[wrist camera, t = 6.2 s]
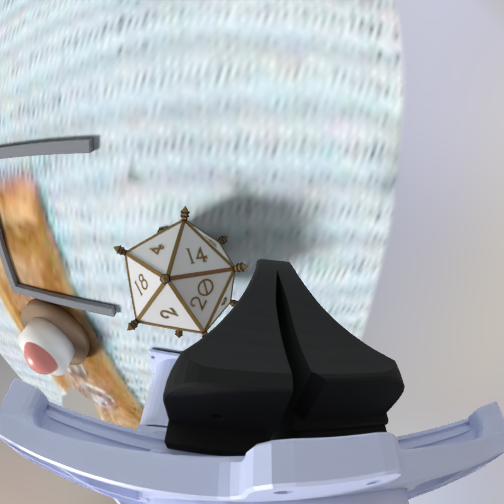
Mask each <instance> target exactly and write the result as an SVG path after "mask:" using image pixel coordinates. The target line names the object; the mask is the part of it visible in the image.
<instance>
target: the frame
mask: <svg viewBox="0 0 504 504" xmlns="http://www.w3.org/2000/svg"><path fill="white" fill-rule="evenodd" d="M92 151H93V138H86V139H69V140H56V141H44V142H35V143H26V144H18V145H11V146H4V147H0V159H3V158H12V157H23V156H35V155H50V154H71V153H90V152H92ZM0 257H1V260H2V263H3V266H4V269H5V272H6V274H7V277H8V280H9V282H10V285H11V288H12V290H13V292H16V293H19V294H23V295H26V296H30V297H33V298H37V299H40V300H44V301H48V302H52V303H56V304H59V305H63V306H68V307H72V308H76V309H80V310H84V311H89V312H93V313H98V314H103V315H107V316H112V317H114V316H115V314H116V310H115V306H114V305H109V304H104V303H99V302H94V301H89V300H84V299H80V298H75V297H71V296H66V295H62V294H58V293H53V292H49V291H45V290H41V289H37V288H33V287H29V286H26V285H22V284H18V282H17V279H16V276H15V274H14V271H13V268H12V265H11V262H10V259H9V256H8V252H7V249H6V246H5V242H4V239H3V235H2V232H1V228H0Z"/></svg>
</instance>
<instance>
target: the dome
mask: <svg viewBox="0 0 504 504" xmlns="http://www.w3.org/2000/svg"><path fill="white" fill-rule="evenodd" d="M18 342H19V345H20V347H21V349H22V351H23V352H24V356H25V359H26V362H27V363H28V365H29V366H30V368H31V369H33V370H34V371H35V372H37V373H40V374H53V375H57V376H61V375H64V374H65V372H66V370H67V368H68V366H69V364H70V362H71V360H72V358H73V356H74V354H75V350H74V346H73V344H72V342H71V341H70V339H69V338H68V337H67V336H66V335H65V334H64V333H63V332H62V331H61V330H60V329H59V328H58V327H57V326H55V325H54V324H52V323H51V322H49V321H47V320H45V319H42V318H37V317H35V318H32V319H31V320H30V321H29V323H28V324H27V326H26V327H25V329H24V330H23V332H22V333H21V335H20V336H19V338H18Z"/></svg>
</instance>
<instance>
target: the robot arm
mask: <svg viewBox="0 0 504 504" xmlns="http://www.w3.org/2000/svg"><path fill="white" fill-rule="evenodd" d="M148 355H149V360H150V364H151V368H152V372H153V378H152V381H151V385H150V388H149V392H148V396H147V399H146V403H145V406H144V410H143V414H142V418H141V421H140V424H139V425H138V428H137V430H136V429H132V428H128V427H124V426H120V425H116V424H113V423H109V422H106V421H103V420H99V419H96V418H93V417H90V416H87V415H84V414H81V413H78V412H75V411H72V410H70V409H67V408H64V407H62V406H59V405H57V404H54V403H52V402H49V401H48V399H47V397H46V396H45V394H44V393H43V392H42V391H41V390H39V389H38V388H36V387H34V386H32V385H30V384H28V383H26V382H24V381H21V380H19V379H17V378H14V380H13V381H12V383H11V385H10V387H9V389H8V391H7V393H6V395H5V397H4V399H3V401H2V403H1V405H0V439H1V440H3V441H4V442H5V443H6V444H8V445H9V446H10V447H11V448H13V449H14V450H15V451H17V452H18V453H19V454H21V455H22V456H23V457H25V458H27V459H28V460H30V461H32V462H34V463H36V464H38V465H39V466H41V467H43V468H45V469H47V470H49V471H51V472H53V473H55V474H57V475H59V476H61V477H63V478H65V479H68V480H70V481H72V482H74V483H76V484H79V485H81V486H83V487H86V488H88V489H91V490H93V491H96V492H98V493H101V494H104V495H107V496H110V497H112V498H114V499H115V501H116V502H117V503H118V504H409V503H408V499H411V498H414V497H417V496H419V495H422V494H425V493H427V492H430V491H433V490H435V489H437V488H440V487H442V486H445V485H447V484H449V483H451V482H454V481H456V480H458V479H460V478H463V477H465V476H467V475H469V474H471V473H473V472H475V471H477V470H479V469H480V468H482V467H483V466H485V465H486V464H488V463H490V462H491V461H493V460H494V459H495V458H497V457H498V456H500V455H501V454H503V453H504V418H503V416H502V413H501V411H500V408H499V406H498V404H497V402H493V403H491V404H488V405H485V406H482V407H480V408H479V409H477V410H476V411H474V412H473V413H472V414H471V415H470V416H469V418H468V419H465V420H462V421H458V422H455V423H452V424H448V425H445V426H441V427H438V428H434V429H430V430H426V431H421V432H417V433H413V434H408V435H404V436H398V437H396V436H395V435H393V434H391V433H389V432H387V431H386V427H385V425H386V424H387V423H388V417H387V411H388V410H389V409H390V408H391V407H392V406H393V405H394V404H395V403H396V401H397V400H398V399H399V397H400V396H401V395H402V393H403V391H404V383H403V380H402V377H401V374H400V371H399V369H398V367H397V364H396V362H395V361H394V360H392V359H391V358H389V357H387V356H385V355H383V354H381V353H380V352H378V351H376V350H374V349H372V348H371V347H369V346H368V345H366V344H365V343H363V342H362V341H360V340H359V339H358V338H356V337H355V336H353V335H352V334H351V333H350V332H348V331H347V330H346V329H345V328H343V327H342V326H341V325H340V324H339V323H338V322H337V321H335V320H334V319H333V318H332V317H331V316H330V315H329V314H328V313H327V312H326V311H325V310H324V309H323V307H322V306H321V305H320V304H319V303H318V302H317V301H316V299H315V298H314V297H313V296H312V294H311V293H310V292H309V290H308V289H307V288H306V286H305V285H304V283H303V282H302V280H301V279H300V277H299V276H298V274H297V273H296V271H295V270H294V268H293V267H292V265H291V264H290V262H284V261H274V260H264V259H259V260H258V261H257V264H256V269H255V272H254V275H253V277H252V279H251V281H250V283H249V285H248V287H247V289H246V290H245V292H244V293H243V295H242V296H241V298H240V299H239V301H238V302H237V304H236V305H235V306H234V308H233V309H232V310H231V311H230V312H229V314H228V315H227V316H226V317H225V318H224V319H223V320H222V321H221V322H220V323H219V324H218V325H217V326H216V327H215V328H214V329H213V330H211V331H210V332H209V333H208V334H207V335H205V336H204V337H203V338H202V339H200V340H199V341H198V342H196V343H195V344H193V345H192V346H190V347H189V348H187V349H186V350H184V351H183V352H181V354H178V353H171V352H165V351H160V350H154V349H150V350H149V351H148Z"/></svg>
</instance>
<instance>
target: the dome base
mask: <svg viewBox="0 0 504 504" xmlns="http://www.w3.org/2000/svg"><path fill="white" fill-rule="evenodd" d="M35 317H37V318H42V319H45V320H47V321H49V322H51V323H52V324H54V325H55V326H57V327H58V328H59V329H60V330H61V331H62V332H63V333H64V334H65V335H66V336H67V337H68V338H69V339H70V341H71V342H72V344H73V346H74V350H75V354H74V356H73V358H72V360H71V362H70V364H71V365H78V364H81V363H83V362H84V361H85V359H86V357H87V355H88V353H89V350H90V342H89V339H88V336H87V334H86V333H85V331H84V330H83V328H82V327H81V326H80V324H79V323H78V322H77V321H76V320H75V319H74V318H73V317H72V316H71V315H70V314H69V313H67V312H66V311H65V310H64V309H62V308H61V307H59V306H58V305H56V304H54V303H52V302H48V301H44V300H40V299H33V300H31V301H30V302H29V303H28V304H27V305H26V307H25V308H24V309H23V311H22V313H21V321H22V324H23V327H24V329H25V327H26V326H27V324H28V323H29V321H30V320H31V319H32V318H35Z"/></svg>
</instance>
